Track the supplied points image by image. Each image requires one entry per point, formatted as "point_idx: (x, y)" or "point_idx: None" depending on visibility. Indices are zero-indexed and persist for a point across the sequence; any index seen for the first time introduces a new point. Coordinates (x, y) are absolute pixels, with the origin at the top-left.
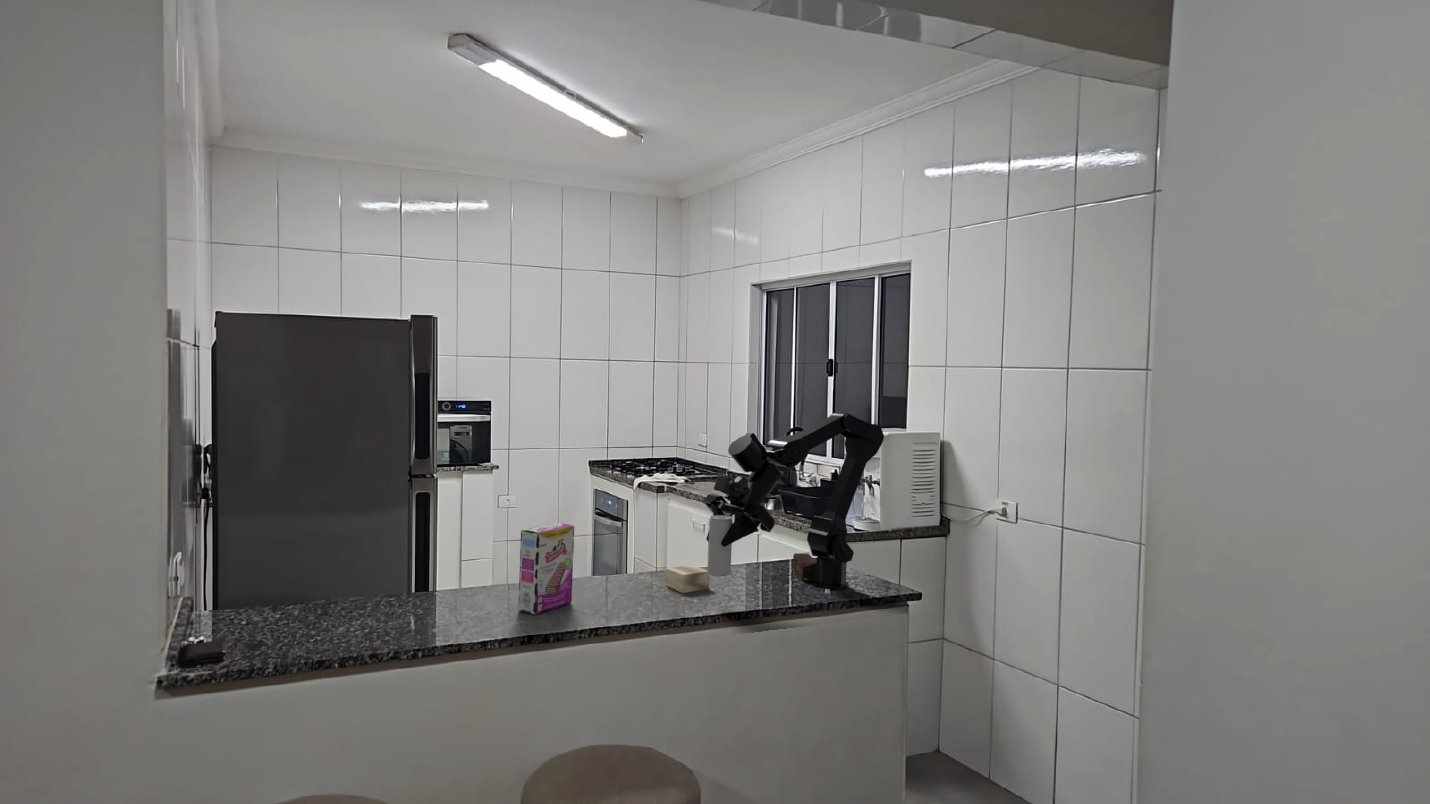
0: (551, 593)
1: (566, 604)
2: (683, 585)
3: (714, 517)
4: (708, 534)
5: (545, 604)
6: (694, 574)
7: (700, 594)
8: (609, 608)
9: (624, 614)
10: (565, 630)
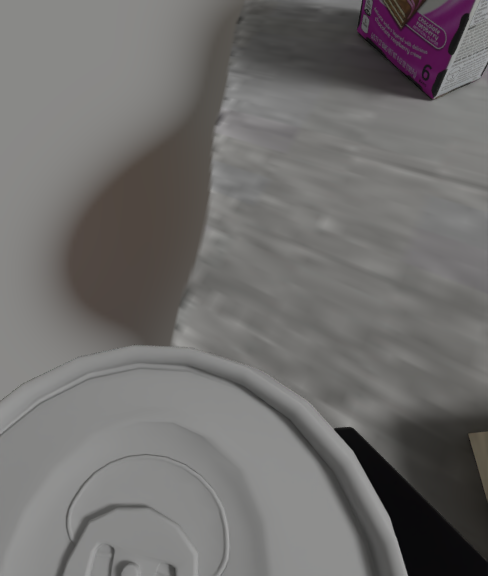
0: (392, 15)
1: (420, 88)
2: (485, 435)
3: (220, 468)
4: (364, 455)
5: (375, 29)
6: None
7: (427, 495)
8: (355, 159)
9: (286, 171)
10: (234, 55)
